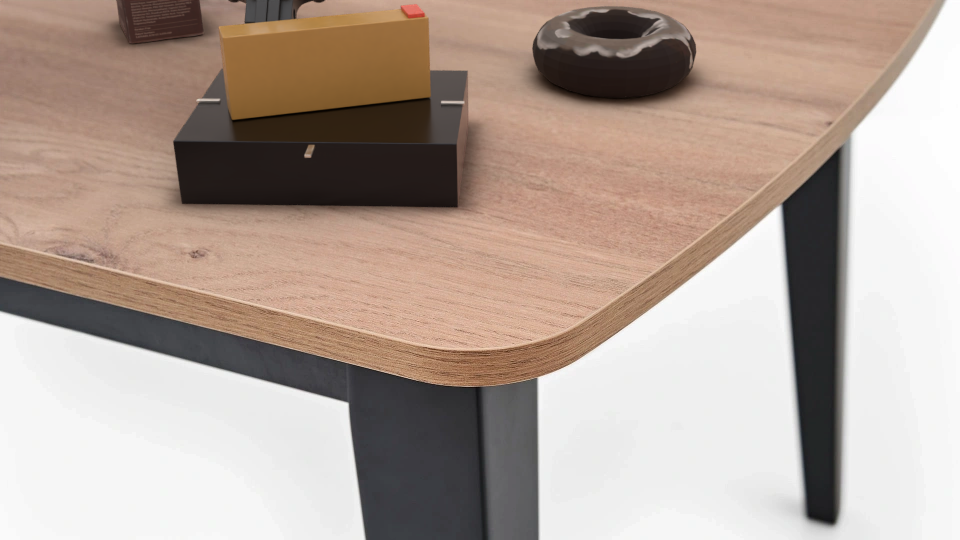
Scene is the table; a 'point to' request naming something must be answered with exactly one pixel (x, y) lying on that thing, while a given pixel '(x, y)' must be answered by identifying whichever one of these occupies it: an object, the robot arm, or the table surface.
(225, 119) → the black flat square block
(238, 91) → the tan slab
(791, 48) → the table surface
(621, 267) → the table surface
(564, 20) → the donut
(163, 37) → the box
